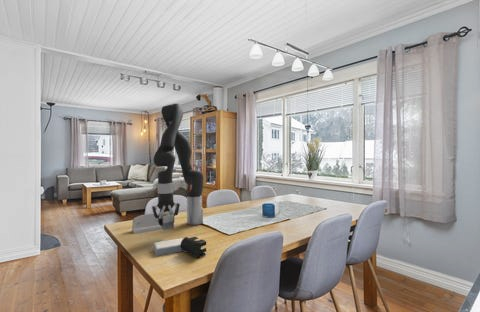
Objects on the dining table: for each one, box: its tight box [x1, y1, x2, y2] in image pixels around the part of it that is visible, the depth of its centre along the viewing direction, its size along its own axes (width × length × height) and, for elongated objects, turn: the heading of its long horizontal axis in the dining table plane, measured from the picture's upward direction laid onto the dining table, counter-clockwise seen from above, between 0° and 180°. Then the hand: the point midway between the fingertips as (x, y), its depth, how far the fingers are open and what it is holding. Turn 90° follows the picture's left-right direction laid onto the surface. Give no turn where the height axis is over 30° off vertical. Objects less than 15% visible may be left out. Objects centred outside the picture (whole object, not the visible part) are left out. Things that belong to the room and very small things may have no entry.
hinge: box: [131, 213, 163, 234], centre depth 145 cm, size 17×5×10 cm, turn 121°
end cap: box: [181, 236, 207, 259], centre depth 110 cm, size 10×7×7 cm
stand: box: [152, 237, 184, 257], centre depth 116 cm, size 14×9×3 cm, turn 117°
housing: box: [161, 211, 175, 231], centre depth 128 cm, size 5×10×8 cm, turn 28°
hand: (166, 224), depth 128 cm, fingers closed on housing, 5 cm apart
